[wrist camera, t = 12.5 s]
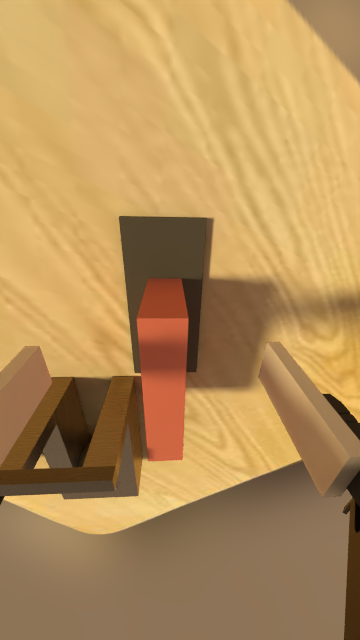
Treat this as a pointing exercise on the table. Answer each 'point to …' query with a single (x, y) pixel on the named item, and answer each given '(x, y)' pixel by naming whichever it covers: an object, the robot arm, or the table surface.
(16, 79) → the table surface
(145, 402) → the orange block
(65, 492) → the frame
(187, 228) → the pad
